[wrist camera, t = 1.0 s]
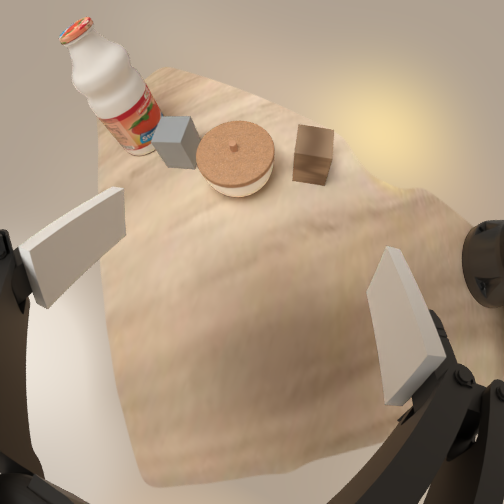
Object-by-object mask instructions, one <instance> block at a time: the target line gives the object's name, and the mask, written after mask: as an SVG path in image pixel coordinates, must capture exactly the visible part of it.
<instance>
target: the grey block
mask: <svg viewBox="0 0 504 504" xmlns="http://www.w3.org/2000/svg"><path fill="white" fill-rule="evenodd" d="M200 141H201V140H200V137H199V135H198V133H197V130H196V128H195V126H194V123H193V121H192V119H191V116H165V117H161V119H160V121H159V123H158V126H157V128H156V130H155V133H154V135H153V137H152V140H151V143H152V145H153V146H154V148H155V149H156V151H157V152H158V153H159V155H160V156H161V158H162V159H163V161H164V162H165V163H166V165H167V166H168V167H169V168H183V169H195V168H196V165H197V162H196V152H197V148H198V145H199V143H200Z"/></svg>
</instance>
